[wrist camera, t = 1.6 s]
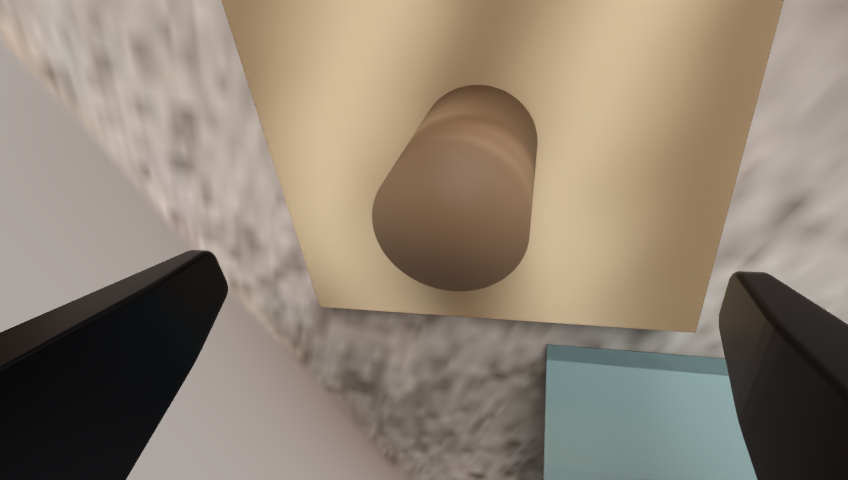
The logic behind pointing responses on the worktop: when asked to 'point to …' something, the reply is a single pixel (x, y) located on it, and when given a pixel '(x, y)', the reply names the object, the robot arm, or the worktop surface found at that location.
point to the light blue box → (640, 417)
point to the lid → (508, 149)
